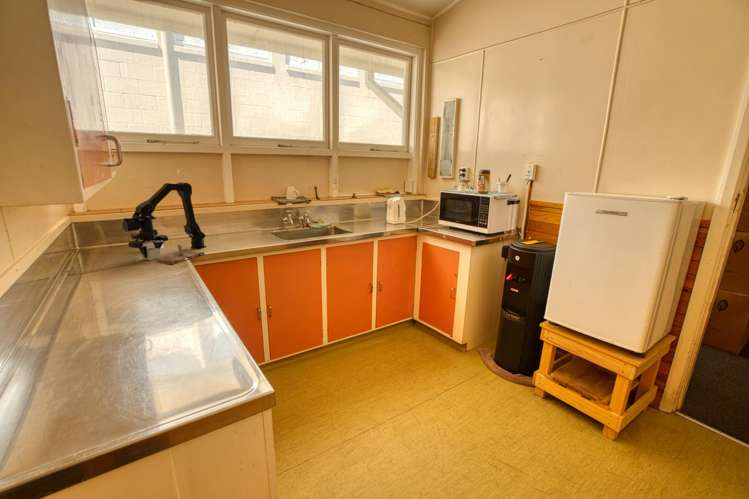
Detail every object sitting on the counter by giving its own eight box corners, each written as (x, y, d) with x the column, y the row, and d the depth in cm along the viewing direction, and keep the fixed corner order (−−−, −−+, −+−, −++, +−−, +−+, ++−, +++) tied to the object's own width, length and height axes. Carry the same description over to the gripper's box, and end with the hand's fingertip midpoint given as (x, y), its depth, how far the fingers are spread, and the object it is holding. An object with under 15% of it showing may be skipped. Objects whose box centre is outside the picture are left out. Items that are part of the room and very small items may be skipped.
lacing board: (189, 251, 204) (187, 239, 202) (204, 254, 199) (203, 241, 197) (157, 261, 186) (155, 247, 184) (173, 264, 182) (171, 250, 180)
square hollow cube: (153, 255, 194) (151, 247, 193) (160, 257, 192) (159, 248, 190) (142, 258, 189) (141, 249, 187) (150, 260, 186) (148, 251, 185)
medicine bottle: (164, 247, 211) (161, 228, 208) (155, 251, 204) (152, 231, 201) (153, 247, 212) (149, 228, 208) (144, 250, 205) (141, 230, 201)
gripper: (153, 223, 197) (157, 250, 201) (119, 230, 180) (124, 258, 185) (166, 225, 193) (171, 252, 197) (133, 232, 176) (138, 261, 181)
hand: (151, 256), depth 190 cm, fingers closed on square hollow cube, 6 cm apart
